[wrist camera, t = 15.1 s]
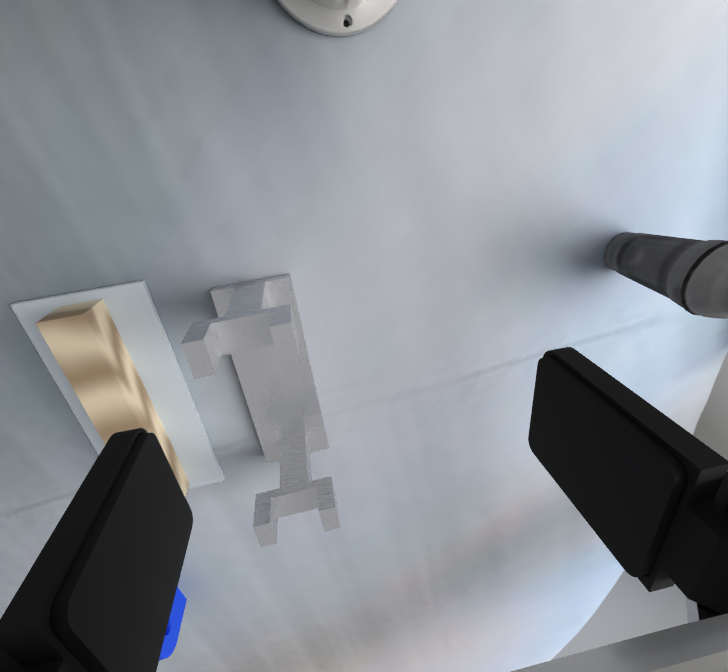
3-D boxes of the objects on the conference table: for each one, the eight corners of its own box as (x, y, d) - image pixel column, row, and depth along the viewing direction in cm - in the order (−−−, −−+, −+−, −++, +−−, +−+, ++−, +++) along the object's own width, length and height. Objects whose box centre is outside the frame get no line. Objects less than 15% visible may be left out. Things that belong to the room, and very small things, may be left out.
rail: (59, 306, 37) (35, 323, 33) (102, 298, 37) (83, 314, 34) (157, 490, 48) (146, 516, 45) (189, 482, 49) (181, 508, 45)
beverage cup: (656, 256, 47) (878, 318, 30) (604, 292, 48) (789, 373, 30) (641, 206, 44) (879, 243, 26) (585, 246, 45) (780, 306, 27)
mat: (14, 302, 37) (10, 304, 36) (144, 279, 38) (142, 281, 37) (128, 499, 49) (126, 503, 48) (224, 477, 50) (223, 481, 49)
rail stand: (212, 287, 39) (180, 343, 28) (289, 273, 40) (291, 322, 29) (267, 455, 50) (260, 547, 38) (328, 441, 50) (340, 527, 39)
